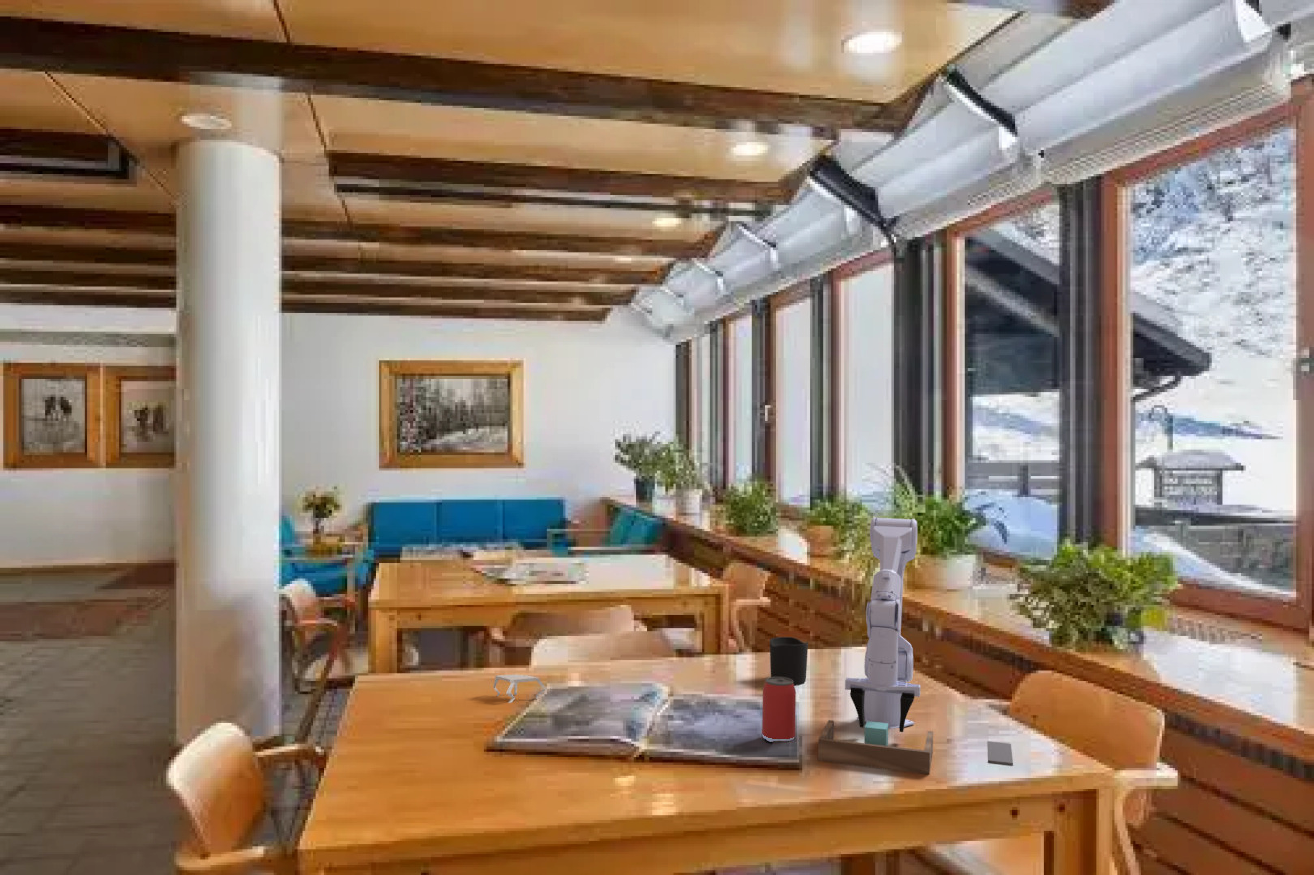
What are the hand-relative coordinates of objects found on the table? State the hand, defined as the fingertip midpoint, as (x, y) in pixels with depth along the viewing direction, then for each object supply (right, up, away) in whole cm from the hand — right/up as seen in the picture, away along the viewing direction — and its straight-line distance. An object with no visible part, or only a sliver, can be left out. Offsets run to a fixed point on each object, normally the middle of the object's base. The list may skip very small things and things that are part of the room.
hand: (881, 728), depth 190 cm
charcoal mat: (+18, -3, -4) cm, 19 cm away
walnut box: (-3, -3, -9) cm, 10 cm away
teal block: (-3, -2, -10) cm, 11 cm away
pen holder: (-12, -3, +47) cm, 49 cm away
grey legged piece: (-76, -2, +28) cm, 81 cm away
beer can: (-20, -3, +1) cm, 21 cm away
